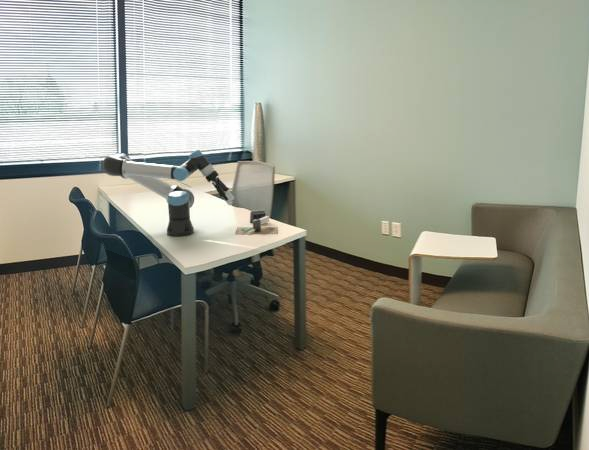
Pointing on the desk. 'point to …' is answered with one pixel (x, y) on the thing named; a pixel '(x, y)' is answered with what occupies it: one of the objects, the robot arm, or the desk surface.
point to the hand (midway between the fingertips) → (232, 201)
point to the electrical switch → (256, 215)
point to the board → (263, 231)
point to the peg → (259, 223)
